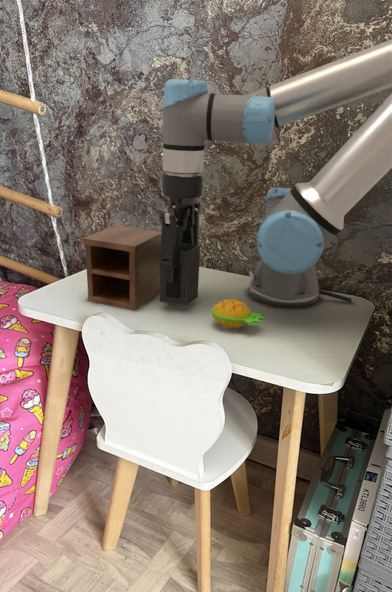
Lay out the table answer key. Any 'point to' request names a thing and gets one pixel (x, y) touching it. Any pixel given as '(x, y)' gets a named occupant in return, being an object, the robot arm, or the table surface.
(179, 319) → the table surface
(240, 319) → the orange toy pineapple
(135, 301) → the shelf
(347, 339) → the table surface
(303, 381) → the table surface
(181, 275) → the black upright box
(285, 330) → the table surface
